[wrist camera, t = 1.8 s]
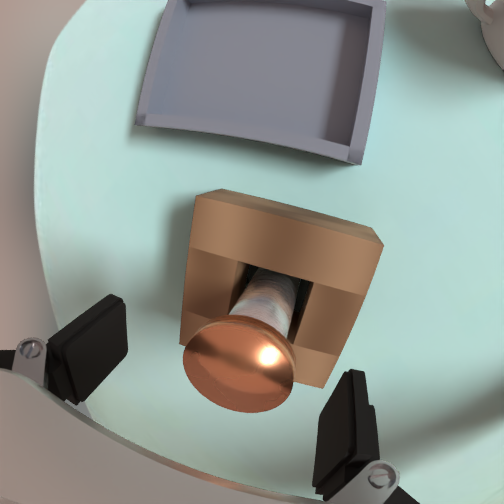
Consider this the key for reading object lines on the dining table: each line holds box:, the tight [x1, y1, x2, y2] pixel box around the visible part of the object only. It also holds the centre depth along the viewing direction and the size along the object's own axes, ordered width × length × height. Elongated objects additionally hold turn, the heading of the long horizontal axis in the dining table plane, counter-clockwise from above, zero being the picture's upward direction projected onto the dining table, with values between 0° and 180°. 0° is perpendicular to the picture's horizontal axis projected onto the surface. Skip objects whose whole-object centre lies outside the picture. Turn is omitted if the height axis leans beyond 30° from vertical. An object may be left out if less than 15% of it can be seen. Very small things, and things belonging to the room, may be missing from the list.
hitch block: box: [179, 189, 384, 389], centre depth 18 cm, size 10×10×4 cm
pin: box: [183, 267, 300, 413], centre depth 15 cm, size 4×4×10 cm
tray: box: [135, 0, 386, 165], centre depth 14 cm, size 14×11×2 cm
